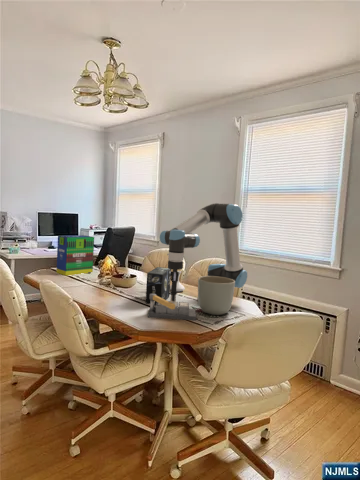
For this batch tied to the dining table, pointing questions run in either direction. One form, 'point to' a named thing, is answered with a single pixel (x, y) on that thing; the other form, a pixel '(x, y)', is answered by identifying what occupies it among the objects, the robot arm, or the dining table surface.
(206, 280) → the planter
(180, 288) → the flower in vase
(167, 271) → the box
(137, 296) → the dining table surface
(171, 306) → the tan wooden bar
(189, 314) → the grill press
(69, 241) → the box
